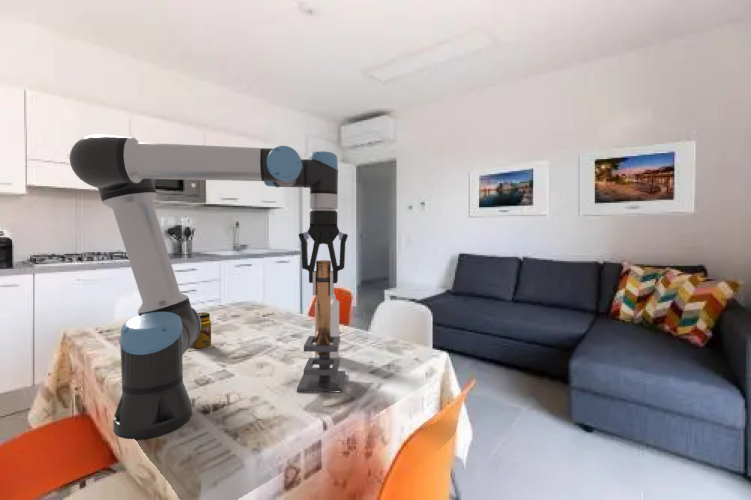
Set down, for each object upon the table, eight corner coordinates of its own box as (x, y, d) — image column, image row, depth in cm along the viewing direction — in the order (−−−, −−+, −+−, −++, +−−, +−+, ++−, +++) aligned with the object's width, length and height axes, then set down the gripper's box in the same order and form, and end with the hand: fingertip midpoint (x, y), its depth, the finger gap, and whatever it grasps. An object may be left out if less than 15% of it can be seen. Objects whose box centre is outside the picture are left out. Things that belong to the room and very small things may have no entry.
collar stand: (342, 392, 99) (342, 344, 98) (296, 391, 99) (297, 344, 98) (345, 374, 111) (345, 331, 110) (305, 373, 111) (305, 331, 110)
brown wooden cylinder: (329, 355, 102) (330, 261, 100) (314, 355, 102) (314, 261, 100) (331, 350, 106) (331, 260, 104) (316, 350, 106) (317, 260, 104)
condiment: (213, 347, 132) (213, 314, 132) (187, 351, 128) (186, 317, 127) (210, 342, 138) (209, 310, 138) (184, 345, 134) (184, 313, 133)
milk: (323, 354, 127) (323, 290, 126) (339, 356, 125) (339, 292, 124) (314, 360, 122) (314, 293, 120) (330, 362, 120) (331, 295, 118)
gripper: (355, 211, 105) (354, 292, 107) (295, 210, 105) (295, 291, 107) (354, 210, 98) (353, 297, 99) (289, 209, 98) (289, 297, 99)
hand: (323, 294), depth 103 cm, fingers closed on brown wooden cylinder, 4 cm apart
